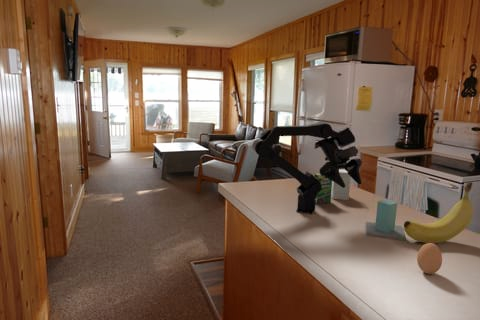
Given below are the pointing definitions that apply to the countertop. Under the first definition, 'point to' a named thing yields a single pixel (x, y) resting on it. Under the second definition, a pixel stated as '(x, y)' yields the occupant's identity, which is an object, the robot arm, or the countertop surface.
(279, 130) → the robot arm
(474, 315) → the countertop surface
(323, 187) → the coffee box
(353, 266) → the countertop surface
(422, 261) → the egg
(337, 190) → the supplement box
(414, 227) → the banana
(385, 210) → the teal block
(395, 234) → the slate mat
